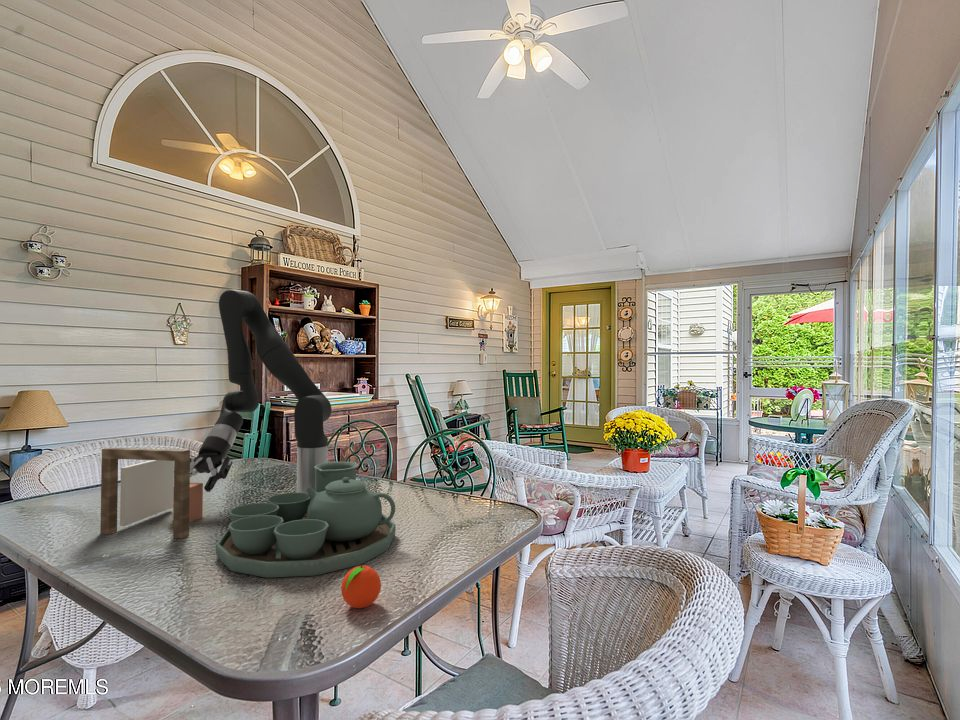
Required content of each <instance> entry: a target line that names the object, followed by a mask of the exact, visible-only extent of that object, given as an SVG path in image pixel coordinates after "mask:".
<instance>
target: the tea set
mask: <svg viewBox="0 0 960 720" xmlns="http://www.w3.org/2000/svg"><path fill="white" fill-rule="evenodd" d="M314 468H315V469H316V491H315V490H313V488H312V487H311V486H309V487H308V488H307V492H308V494H307V493H297V491H296V492H285V493H278V494H274V495H272V496H269V497H267V499H266V500H265V502H257V503H248V504H242V505H238V506H236V507H233V508H230V510H229V511H228V512H227V513H228V515H229V517H230V521H231V522H230V523H229V525H228V526H227V528H228V529H226V530H225V532H224V533H223V534H222V536H221V537H220V539H219V540H218V541H217V542H216V544H215V554H216V556H217V558H218V559H219V560H220V561H221V563H223V564H224V566H225V567H227V568H228V569H229V571H231V572H234V573H239V574H245V575H246V574H247V575H251V576H257V577H262V578H266V579H267V578H268V579H269V578H270V579H271V578H287V577H288V578H290V577H291V578H292V577H311V576H318V575H319V576H320V575H323V574H326V573H331V572H336V571H340V570H341V571H342V570H344V569H349V568H354V567H357V566H362V565H363V564H365V563H366V562H368V561H370V560H372V559H374V558H375V557H377V556H380V555H381V554H383V553H386V552H387V551H388V550H389V548H390V545H391V543H392V540H393V539H394V536H395V534H396V529H397V528H396V526H397V525H396V523H395V522H393V521H392V519H393V518H394V515H395V514H396V504H395V501H394V499H393V498H392V496H390V495H389V494H388V493H386V492H379V493H375V492H374V491H372V490H370V489H368V488H366V487H367V484H366V483H365V482H364V481H362V480H359V479H357V469H358V468H359V463H356V462H353V461H329V462H328V463H322V464H318V465H316V466H314ZM380 498H383V499H385V500H386V501H388V503H389V506H390V513H389V514H388V516H387V515H385V514H384V513H383V508H382V501H381V499H380ZM310 501H311V502H310Z"/></svg>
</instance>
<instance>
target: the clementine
mask: <svg viewBox="0 0 960 720" xmlns="http://www.w3.org/2000/svg"><path fill="white" fill-rule="evenodd" d="M340 586H341V588H340V589H341V596H342V598H343V600H344V601H345V603H346V604H347V605H348V606H350V607H352V608H355V609H364V608H367V607H369V606H370V605H372V604H373V603H374V602H375V601H376V600H377V599H378V598H379V595H380V593H381V588H382V584H381V578H380V575H379V573H378V572H377V571H376V570H375V569H374V568H372V567H371V566H368V565H357V566H353V567H352V569H350V570H349V571H347V573H346V574H345V576H344V577H343V579H342V581H341V585H340Z"/></svg>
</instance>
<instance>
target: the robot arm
mask: <svg viewBox="0 0 960 720" xmlns="http://www.w3.org/2000/svg"><path fill="white" fill-rule="evenodd" d="M218 310H219V314H220V319H221V325H222V328H223V329H222V330H223V333H224V334H223V335H224V339H225V343H226V344H225V345H226V349H227V351H226V352H227V365H228V366H227V370H228V371H227V372H228V381H229V382H230V383H232V384H235V385H239V386H240V388H241V390H230V391H229V392H227V393H226V394H225V395H224V396H223V398H222V405H221V409H220V413H219V416H218V418H217V420H216V422H215V423H214V426H212V428H211V430H210V431H208V434H207V435H206V437H205V439H204V440H203V442H202V444H201V445H200V448H199V450H198V455H197V456H195V457H194V458H193V457H190V478H192V477H194V476H197V475H198V474H204V473H206V474H210V475H211V476H209V478H208V480H207V481H206V483H205V485H204V486H203V489H204V490H205V492H206V493H209V492H210V493H211V491H212V490H213V489H214V488H215V486H216V484H217V482H218V481H220V480H222V479H223V480H225V479H226V478H227V477H228V474H229V472H230V470H231V467H232V465H233V460H232V459H231V457H229V456H228V454H229V452H230V451H231V449H232V448H233V445H234V443H235V440H236V437H237V435H238V433H239V431H240V429H241V428H242V426H243V423H244V419H243V416H242V415H241V414H240V413H253V412H254V411H256V410H257V409H258V408H259V405H260V396H259V393H258V389H257V386H256V383H255V381H254V377H253V358H252V354H251V351H250V348H249V346H248V344H247V341H246V338H245V336H244V332H243V322H244V323H245V325H246V326H247V328H248V329H249V330H250V332H251V333H252V335H253V338H254V341H255V348H256V349H255V350H256V352H257V354H258V355H257V356H258V357H259V360H260V361H261V362H262V363H263V365H264V366H265V368H266V370H268V371H269V373H270V375H272V376H273V377H274V378H275V379H276V380H277V381H279V382H280V383H282V385H283V386H286V388H288V389H289V390H290V391H291V393H293V395H294V396H295V397H296V399H297V402H296V404H295V407H294V411H293V412H294V413H293V414H294V416H293V417H294V418H293V421H294V422H293V423H294V437H295V440H296V449H297V450H296V492H297V493H307V494H308V492H307V488H308V487H309V486H311V487H312V488H313V490H315V491H316V469H315V468H314V466H316V465H318V464H322V463H328V461H329V459H328V455H329V454H328V453H329V452H328V451H329V450H328V448H329V446H328V445H329V443H328V442H329V439H328V436H327V434H325V432H324V431H325V430H324V422H326V421H328V419H329V418H330V417H331V415H332V410H333V409H332V404H331V402H330V400H329V399H328V397H326V395H325V394H324V393H323V392H322V391H321V390H320V388H319V387H317V385H316V384H315V383H314V381H313V380H312V379H311V378H310V376H309V375H308V373H307V372H306V370H305V369H304V368H303V366H302V364H301V363H300V361H299V360H298V358H297V357H296V356H295V354H294V352H293V351H292V350H291V348H290V347H289V346H288V344H287V343H286V341H285V340H284V339H283V338H282V336H281V335H280V333H279V331H278V330H277V329H276V328H275V326H274V325H273V324H272V322H271V320H270V318H269V317H268V315H267V313H266V311H265V309H264V308H263V306H262V305H261V303H260V301H259V299H258V298H257V297H256V295H255V294H254V293H252V292H250V291H246V290H239V289H227V290H225V291H223V292H222V293H221V294H220V296H219V300H218ZM219 467H220V468H219ZM218 468H219V470H218ZM194 469H195V470H194ZM310 502H311V501H310Z"/></svg>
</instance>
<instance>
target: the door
mask: <svg viewBox="0 0 960 720" xmlns="http://www.w3.org/2000/svg"><path fill="white" fill-rule="evenodd" d="M173 497H174V461H164V460H146V461H143V462H140V463H136V464H131V465H128V466H122V467H120V501H119V502H120V503H119V506H120V507H119V509H120V510H119V511H120V512H119V515H120V516H119V526H120V527H126V526H128V525H132V524H133V523H137V522H138V521H141V520H144V519H147V518H149V517H152V516H155V515H158V514H159V513H162V512H165V511H168V510H170V509H173Z"/></svg>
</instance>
